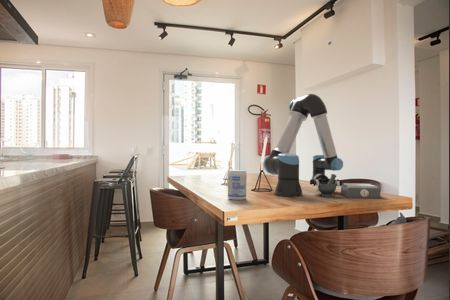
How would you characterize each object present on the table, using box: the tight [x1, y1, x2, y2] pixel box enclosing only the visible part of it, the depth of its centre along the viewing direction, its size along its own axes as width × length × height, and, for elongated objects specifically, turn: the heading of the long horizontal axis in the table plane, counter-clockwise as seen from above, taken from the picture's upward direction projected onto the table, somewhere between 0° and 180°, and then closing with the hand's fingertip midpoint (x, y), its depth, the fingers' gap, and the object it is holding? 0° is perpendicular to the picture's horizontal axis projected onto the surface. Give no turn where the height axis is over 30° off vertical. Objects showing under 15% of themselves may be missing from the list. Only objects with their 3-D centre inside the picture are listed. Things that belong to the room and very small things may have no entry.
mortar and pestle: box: [317, 173, 337, 198], centre depth 156 cm, size 11×9×12 cm
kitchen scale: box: [340, 182, 381, 199], centre depth 156 cm, size 16×17×6 cm
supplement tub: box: [227, 169, 248, 201], centre depth 145 cm, size 10×10×15 cm
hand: (328, 183), depth 152 cm, fingers closed on mortar and pestle, 10 cm apart
